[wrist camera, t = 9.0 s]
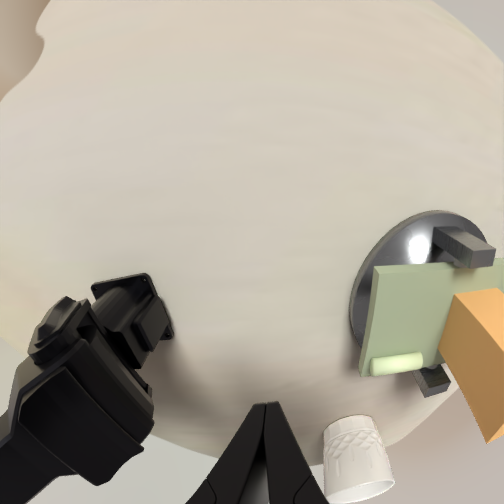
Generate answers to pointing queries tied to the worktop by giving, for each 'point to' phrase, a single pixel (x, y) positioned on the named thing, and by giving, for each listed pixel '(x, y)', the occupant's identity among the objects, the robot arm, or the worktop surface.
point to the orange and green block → (441, 330)
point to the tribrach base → (419, 252)
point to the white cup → (354, 461)
